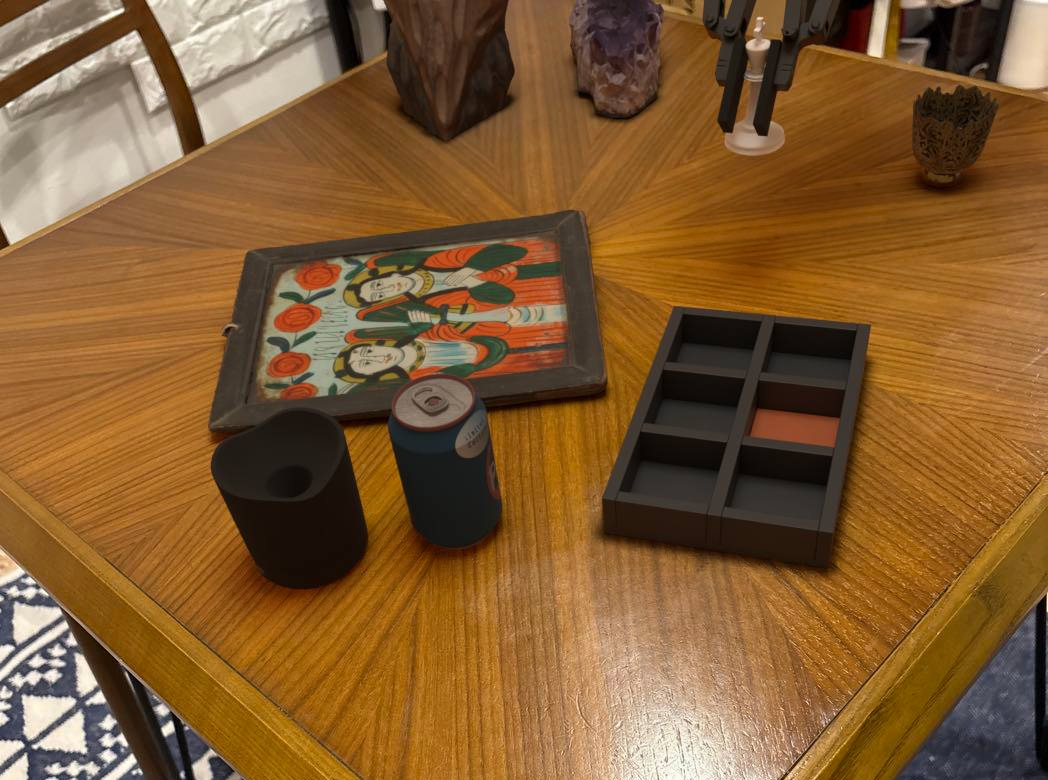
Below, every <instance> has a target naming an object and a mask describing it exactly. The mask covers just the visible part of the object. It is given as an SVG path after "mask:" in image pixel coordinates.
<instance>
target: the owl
mask: <svg viewBox="0 0 1048 780" xmlns="http://www.w3.org/2000/svg"><path fill="white" fill-rule="evenodd" d="M509 1H510V0H382V2H383V4H384V6H385V8H386V10H387V12H388V14H389V16H390V18H391V23H390V24H389V37H388V39H387V41H388V42H387V53H386V67H387V70H388V72H389V75H390V77H391V80H392V82H393V85H394V87H395V89H396V92H397V94H398V96H399V98H400V100H401V103H402V106H403V108H402V109H403V110H402V111H403V112H404V113H406V114H407V115H408V116H410V117H413V118H414V121H415V122H417V123H420V124H421V125H422V126H424V127H426V130H427V131H428V133H430V134H432V135H435V136H436V137H438V138H440V139H441V140H442V141H445V142H447V141H450V140H451V139H452V138H454V137H456V136H458V135H459V134H461V133H462V132H464V131H466V130H468V129H470V128H472V127H473V126H474V125H476V124H477V123H479V122H480V121H481V122H482V121H484V120H486V119H488V118H489V117H490V116H491V115H492V114H494V113H496V112H498V111H501V110H503V109H504V108H506V107H507V106H508V104H509V103H510V102H511V98H510V97H509V96H508V92H509V88H510V86H511V83H512V80H513V78H514V76H515V75H516V69H515V64H514V61H513V57H512V53H511V49H510V42H509V39H508V37H507V32H506V16H507V10H508V6H509Z"/></svg>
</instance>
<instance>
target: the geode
mask: <svg viewBox="0 0 1048 780" xmlns="http://www.w3.org/2000/svg"><path fill="white" fill-rule="evenodd" d="M664 13H665V9H664V8H663V5H662V4H661V3H656V2H655V1H654V0H575V3H574V5H573V7H572V9H571V11H570V15H569V16H568V25H569V28H570V34H571V35H570V44H569V47H570V50H571V55H572V56H573V57H574V58H575V60H576V74H577V91H578V92H580V93H583V94H587V95H590V96H591V98H592V99H593V103H594V104H593V105H594V109H595V112H596V113H597V115H599V116H604V117H607V118H612V119H628V118H632V117H633V116H635V115H636V114H638V113H639V112H641V111H642V110H645V109H646V108H647V106H648V105H649V104H651V103H652V102H653V101H654V100H655V99H656V98H657V96H658V86H659V69H660V67H661V57H660V52H661V41H662V40H661V34H662V29H663V23H664Z"/></svg>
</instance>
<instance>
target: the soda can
mask: <svg viewBox="0 0 1048 780" xmlns="http://www.w3.org/2000/svg"><path fill="white" fill-rule="evenodd" d="M488 417H489V416H488V411H487V407H485V405H484V403H483V402H482V400H481V399H480V398H479V397H478V396H477V395H476V394H475V392H474V389H473V387H472V386H471V385H470V383H468V382H467V381H466V380H464V379H463V378H460V377H458V376H455V375H450V374H431V375H426V376H422V377H419V378H416V379H414V380H412V381H410V382H408V383H407V384H405V385H404V386H403V387H401V388H400V389H399V390H398V392H397V393H396V394H395V396H394V398H393V401H392V412H391V415H390V416H389V418H388V422H387V432H388V435H389V436H388V437H389V438H390V440H389V441H390V443H391V448H392V452H393V455H394V460H395V463H396V468H397V471H398V475H399V480H400V482H401V487H402V491H403V495H404V498H405V503H406V507H407V510H408V514H409V518H410V523H411V525H412V527H413V529H414V531H416V533H417V534H418V535H419V536H421V537H422V538H423V539H425V540H426V541H427V542H429V543H430V544H432V545H434V546H436V547H438V548H441V549H444V550H445V549H446V550H462V549H468V548H471V547H473V546H475V545H477V544H479V543H481V542H482V541H484V540H485V539H486V538H487V537H489V536H490V534H491V533H492V531H493V530H494V529H495V527H496V526H497V524H498V523H499V521H500V518H501V515H502V511H503V500H502V499H503V498H502V494H501V489H500V482H499V476H498V470H497V465H496V458H495V453H494V447H493V441H492V434H491V430H490V424H489V418H488Z"/></svg>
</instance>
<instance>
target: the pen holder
mask: <svg viewBox="0 0 1048 780" xmlns="http://www.w3.org/2000/svg"><path fill="white" fill-rule="evenodd" d="M210 473H211V475H212V479H213V481H214V482H215V484H216V487H217V489H218V491H219V493H220V496H221V497H222V500H223V501H224V503H225V506H226V507H227V509H228V512H229V515H230V516H231V518H232V520H233V522H234V524H235V526H236V529H237V530H238V533H239V535H240V537H241V539H242V541H243V543H244V545H245V547H246V549H247V551H248V552H249V554H250V557H251V558H252V561H253V562H254V564H255V566H256V568H257V570H258V571H259V574H261V575H262V577H264V578H265V579H266V580H267V581H268V582H270V583H272V584H274V585H276V586H279V587H281V588H285V589H289V590H298V591H299V590H302V591H305V590H313V589H317V588H318V589H319V588H321V587H325V586H327V585H330V584H332V583H334V582H336V581H338V580H340V579H341V578H342V579H343V577H345V576H346V575H348V574H349V573H350V572H351V571H352V570H353V569H354V568H355V567H356V566H357V565H358V564H359V563H360V561H361V560H362V557H363V556H364V554H365V553H366V550H367V547H368V544H369V543H368V541H369V534H368V527H367V521H366V516H365V511H364V507H363V504H362V499H361V494H360V491H359V486H358V482H357V478H356V474H355V470H354V466H353V462H352V458H351V453H350V450H349V446H348V441H347V437H346V434H345V430H344V428H343V426H342V425H341V423H340V422H339V421H337V420H335V419H334V418H333V417H332V416H330V415H328V414H327V413H324V412H322V411H319V410H316V409H311V408H304V407H296V408H289V409H285V410H282V411H280V412H278V413H276V414H274V415H272V416H271V417H269V418H268V419H266V420H265V421H263V422H261V423H260V424H258V425H257V426H255V427H253V428H251V429H249V430H246V431H244V432H237V433H235V434H233V435H231V436H228V437H227V438H225V439H223V440H222V441H221V442H220V443H219V444H218V445H217V446H216V447H215V448H214V450H213V453H212V456H211V459H210Z"/></svg>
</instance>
